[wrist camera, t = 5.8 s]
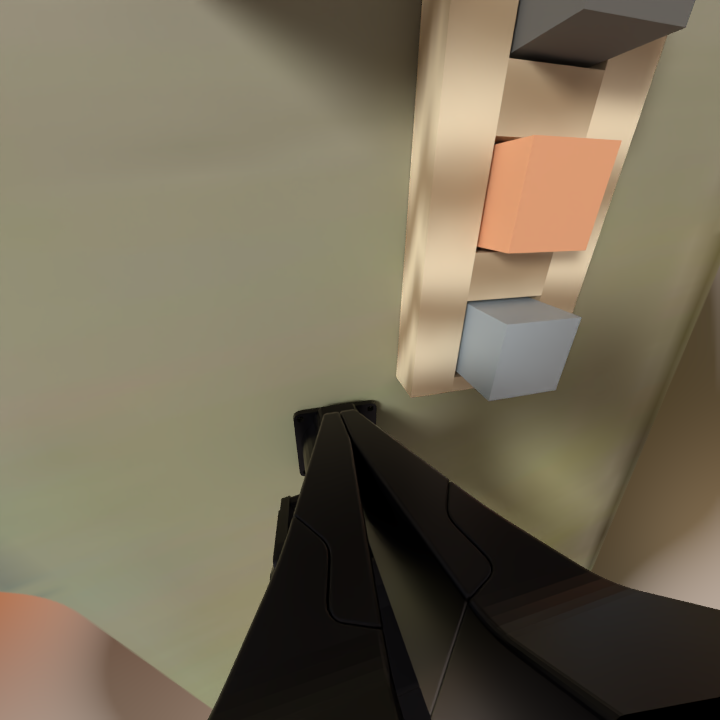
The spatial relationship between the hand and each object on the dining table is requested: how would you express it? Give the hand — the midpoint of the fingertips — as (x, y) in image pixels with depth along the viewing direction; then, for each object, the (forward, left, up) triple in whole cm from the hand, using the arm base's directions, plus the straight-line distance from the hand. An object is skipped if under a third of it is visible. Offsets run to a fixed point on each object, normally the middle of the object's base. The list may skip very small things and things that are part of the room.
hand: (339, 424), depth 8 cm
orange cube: (+5, -13, -13) cm, 19 cm away
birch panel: (+5, -13, -13) cm, 19 cm away
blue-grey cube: (-3, -13, -12) cm, 18 cm away
